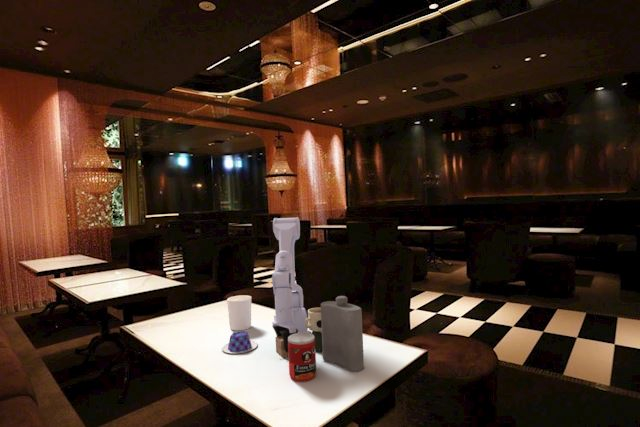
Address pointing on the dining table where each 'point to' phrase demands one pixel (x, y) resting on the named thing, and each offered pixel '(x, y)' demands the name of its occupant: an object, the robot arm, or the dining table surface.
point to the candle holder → (239, 312)
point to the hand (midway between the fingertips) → (285, 348)
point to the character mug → (315, 326)
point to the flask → (342, 334)
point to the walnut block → (280, 347)
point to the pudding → (239, 343)
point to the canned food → (302, 356)
